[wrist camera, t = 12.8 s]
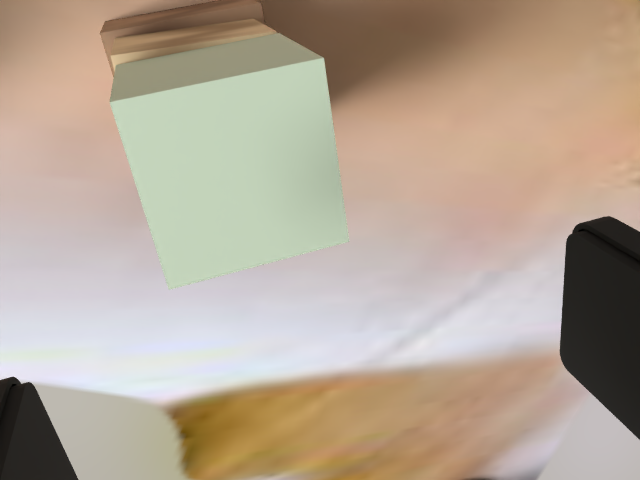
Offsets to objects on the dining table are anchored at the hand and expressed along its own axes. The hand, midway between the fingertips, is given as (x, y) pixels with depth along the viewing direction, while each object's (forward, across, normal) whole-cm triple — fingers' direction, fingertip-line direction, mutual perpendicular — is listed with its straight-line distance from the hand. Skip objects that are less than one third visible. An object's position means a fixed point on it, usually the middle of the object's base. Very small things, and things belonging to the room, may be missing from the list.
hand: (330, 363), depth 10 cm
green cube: (+15, 0, 0) cm, 15 cm away
